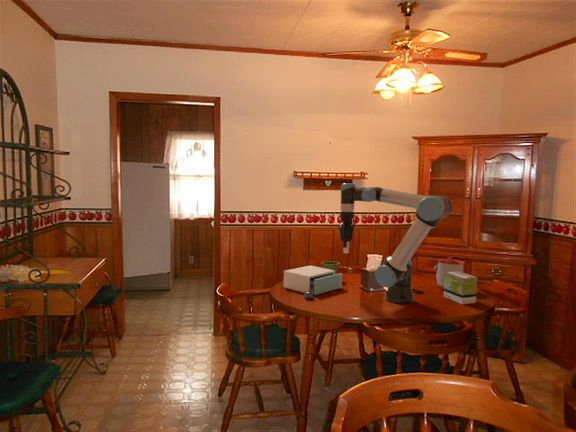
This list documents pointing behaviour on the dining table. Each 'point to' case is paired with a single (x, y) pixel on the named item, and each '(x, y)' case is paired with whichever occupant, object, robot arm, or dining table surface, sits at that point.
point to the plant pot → (330, 265)
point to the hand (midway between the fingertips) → (346, 253)
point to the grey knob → (308, 295)
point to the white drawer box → (304, 277)
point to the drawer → (326, 284)
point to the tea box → (460, 287)
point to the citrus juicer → (447, 269)
